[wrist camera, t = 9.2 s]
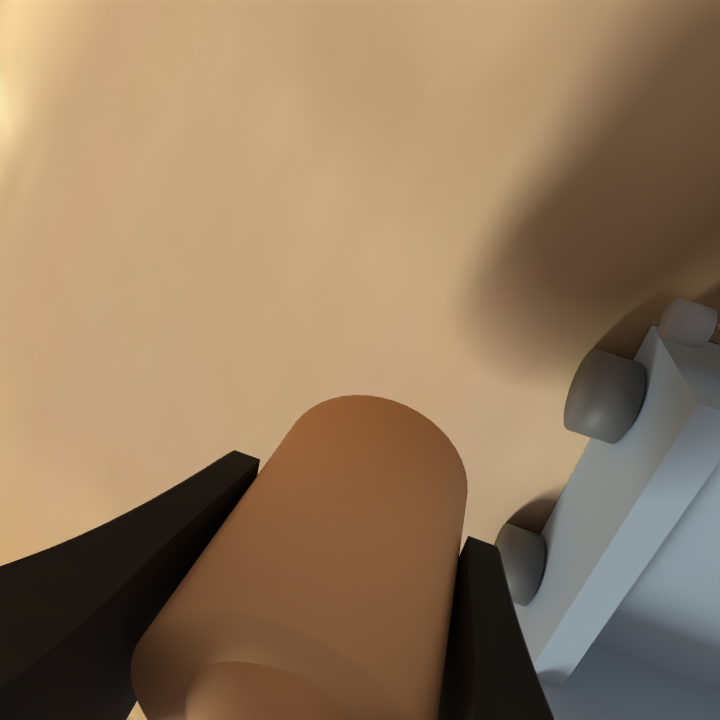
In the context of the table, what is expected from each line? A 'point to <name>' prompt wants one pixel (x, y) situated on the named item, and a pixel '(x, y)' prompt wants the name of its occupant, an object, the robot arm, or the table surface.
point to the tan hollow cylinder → (320, 580)
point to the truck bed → (632, 537)
